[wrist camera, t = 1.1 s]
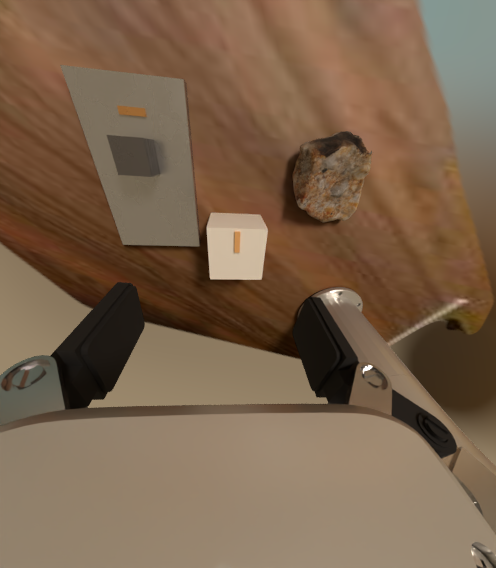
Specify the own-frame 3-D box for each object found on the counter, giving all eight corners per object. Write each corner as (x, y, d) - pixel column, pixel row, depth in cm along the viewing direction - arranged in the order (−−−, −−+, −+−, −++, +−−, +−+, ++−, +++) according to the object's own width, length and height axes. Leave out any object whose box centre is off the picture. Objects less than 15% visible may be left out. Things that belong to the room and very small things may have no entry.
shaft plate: (200, 243, 27) (196, 256, 23) (127, 241, 26) (111, 254, 22) (186, 83, 17) (175, 66, 14) (70, 70, 16) (28, 48, 13)
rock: (281, 152, 21) (296, 236, 26) (310, 132, 16) (324, 241, 20) (344, 133, 23) (349, 216, 27) (390, 108, 17) (387, 216, 21)
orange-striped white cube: (255, 258, 29) (261, 280, 24) (213, 257, 28) (209, 280, 23) (260, 214, 25) (268, 230, 20) (210, 212, 24) (206, 228, 19)
